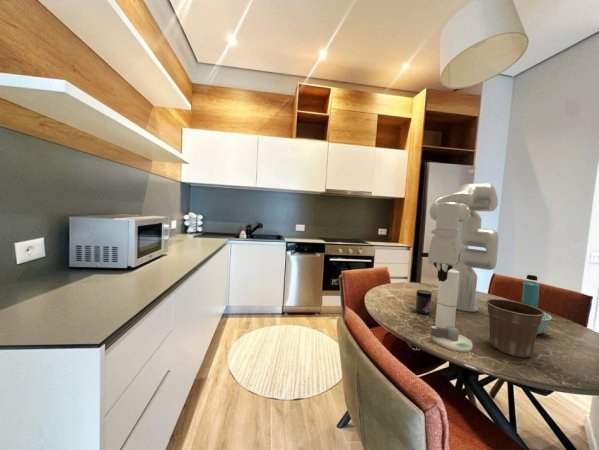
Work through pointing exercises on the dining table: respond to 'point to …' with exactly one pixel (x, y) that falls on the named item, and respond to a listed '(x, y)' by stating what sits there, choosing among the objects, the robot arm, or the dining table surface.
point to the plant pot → (513, 326)
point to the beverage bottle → (530, 292)
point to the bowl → (544, 323)
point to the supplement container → (423, 302)
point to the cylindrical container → (447, 300)
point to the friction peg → (445, 332)
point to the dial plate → (454, 343)
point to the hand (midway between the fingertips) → (442, 280)
